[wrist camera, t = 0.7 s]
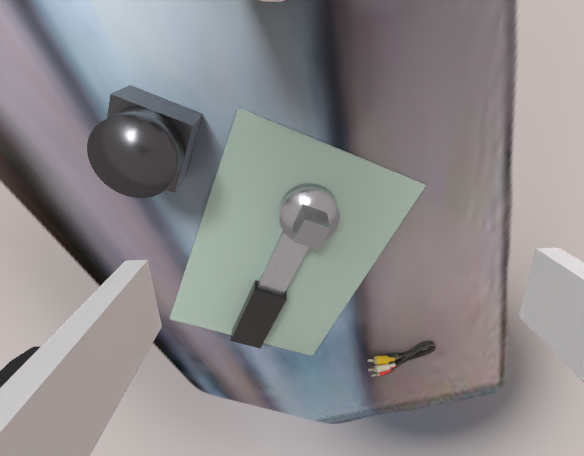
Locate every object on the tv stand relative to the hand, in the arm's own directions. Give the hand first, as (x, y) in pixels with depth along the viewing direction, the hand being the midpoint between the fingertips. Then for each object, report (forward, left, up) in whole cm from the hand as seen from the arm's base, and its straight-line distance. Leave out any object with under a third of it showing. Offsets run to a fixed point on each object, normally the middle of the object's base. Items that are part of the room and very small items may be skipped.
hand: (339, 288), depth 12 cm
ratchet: (+17, +4, -23) cm, 29 cm away
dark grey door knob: (+6, -12, -23) cm, 27 cm away
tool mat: (+15, +4, -23) cm, 28 cm away
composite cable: (+25, +26, -24) cm, 43 cm away
